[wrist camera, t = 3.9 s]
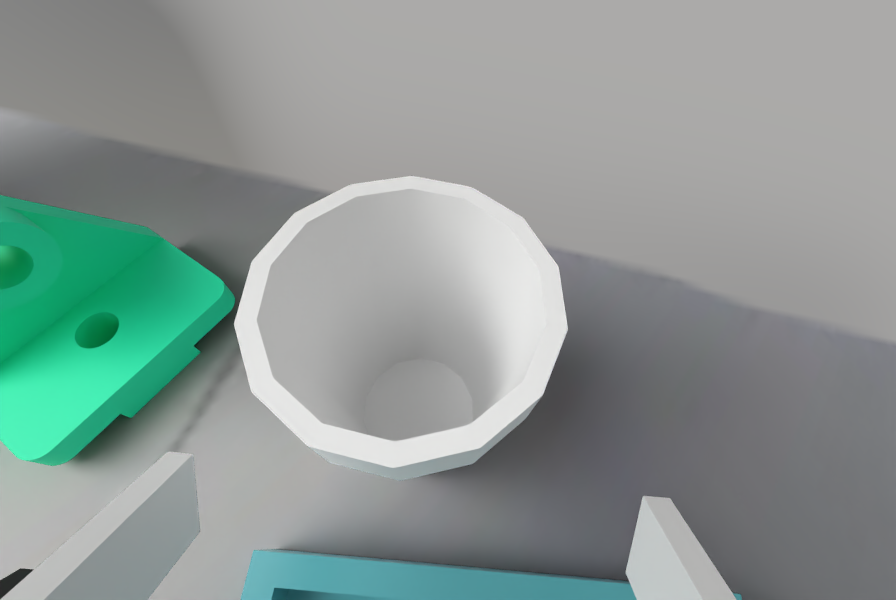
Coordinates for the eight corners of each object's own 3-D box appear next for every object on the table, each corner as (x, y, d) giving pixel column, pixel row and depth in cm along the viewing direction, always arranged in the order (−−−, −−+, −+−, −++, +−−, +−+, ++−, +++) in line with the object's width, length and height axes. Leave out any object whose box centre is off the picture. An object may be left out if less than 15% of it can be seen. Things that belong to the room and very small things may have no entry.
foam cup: (305, 479, 22) (167, 410, 10) (364, 322, 26) (310, 156, 15) (488, 527, 21) (549, 507, 10) (516, 356, 25) (580, 207, 14)
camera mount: (71, 477, 22) (-183, 432, 13) (-11, 395, 24) (-280, 305, 15) (249, 308, 27) (156, 191, 18) (169, 252, 29) (50, 121, 20)
